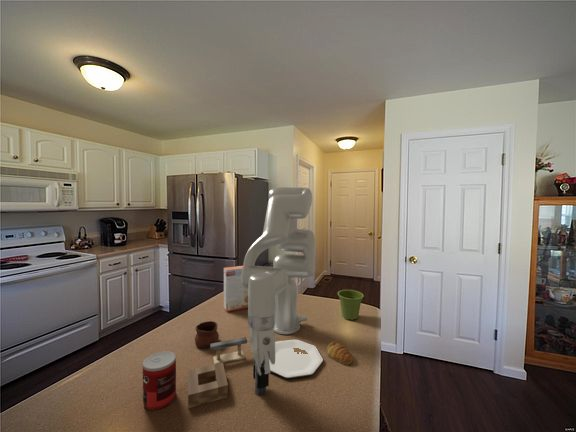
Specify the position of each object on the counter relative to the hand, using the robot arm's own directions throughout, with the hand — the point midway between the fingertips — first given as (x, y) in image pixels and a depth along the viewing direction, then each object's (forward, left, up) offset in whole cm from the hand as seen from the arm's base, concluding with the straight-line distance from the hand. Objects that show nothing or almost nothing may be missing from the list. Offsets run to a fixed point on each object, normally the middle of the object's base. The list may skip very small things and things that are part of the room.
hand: (260, 381), depth 69 cm
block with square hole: (+14, -6, -3) cm, 15 cm away
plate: (-14, -10, -3) cm, 18 cm away
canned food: (+26, -7, -3) cm, 27 cm away
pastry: (-30, -6, -3) cm, 31 cm away
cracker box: (-5, -58, -3) cm, 58 cm away
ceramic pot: (+12, -31, -3) cm, 33 cm away
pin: (0, 0, -3) cm, 3 cm away
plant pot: (-52, -29, -3) cm, 60 cm away
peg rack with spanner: (+6, -18, -3) cm, 19 cm away
